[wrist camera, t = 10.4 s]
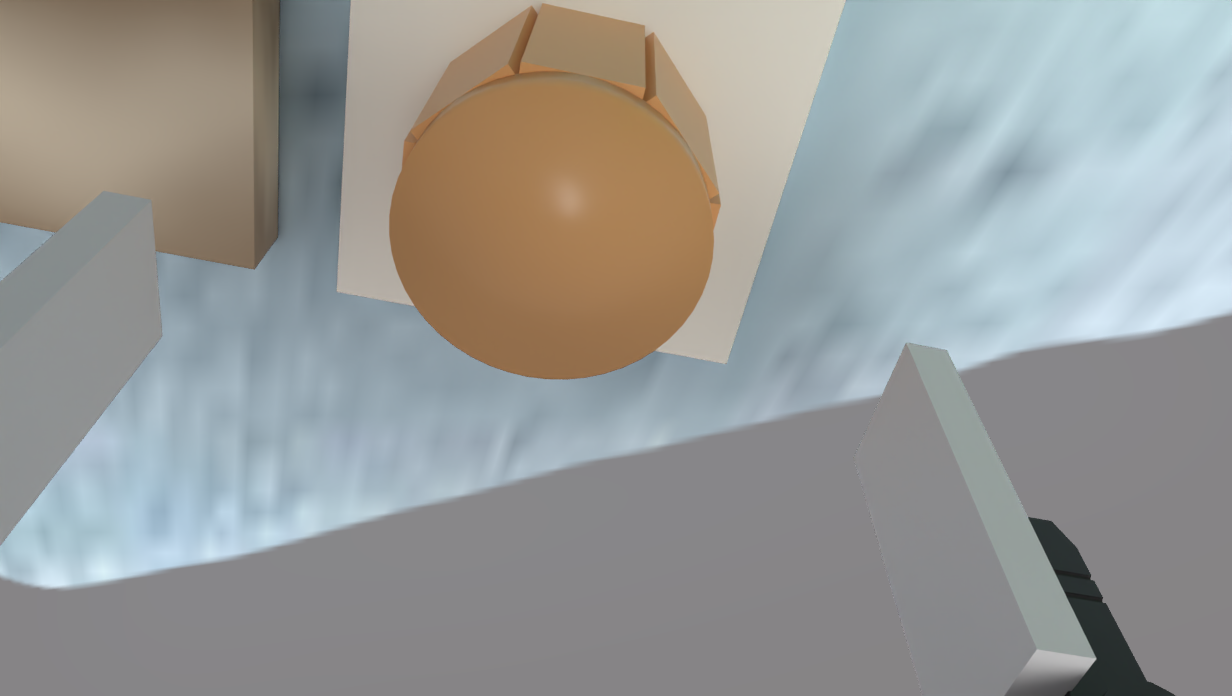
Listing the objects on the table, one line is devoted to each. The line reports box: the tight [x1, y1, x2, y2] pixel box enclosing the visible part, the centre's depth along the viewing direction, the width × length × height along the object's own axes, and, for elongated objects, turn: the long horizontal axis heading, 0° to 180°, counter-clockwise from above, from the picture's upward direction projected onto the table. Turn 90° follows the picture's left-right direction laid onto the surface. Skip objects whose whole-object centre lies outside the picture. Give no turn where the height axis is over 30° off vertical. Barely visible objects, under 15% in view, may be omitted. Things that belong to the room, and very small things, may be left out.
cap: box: [389, 3, 721, 379], centre depth 23 cm, size 7×7×6 cm
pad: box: [337, 0, 846, 364], centre depth 26 cm, size 12×12×1 cm
